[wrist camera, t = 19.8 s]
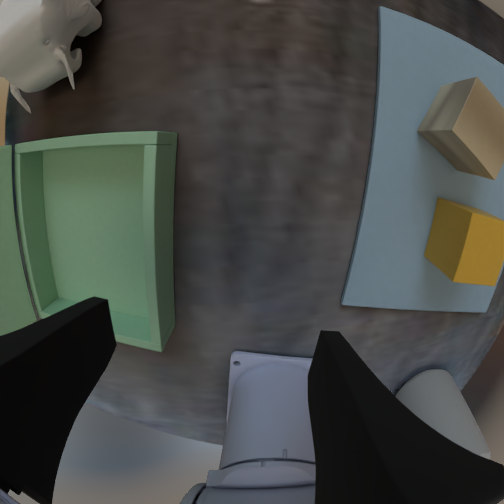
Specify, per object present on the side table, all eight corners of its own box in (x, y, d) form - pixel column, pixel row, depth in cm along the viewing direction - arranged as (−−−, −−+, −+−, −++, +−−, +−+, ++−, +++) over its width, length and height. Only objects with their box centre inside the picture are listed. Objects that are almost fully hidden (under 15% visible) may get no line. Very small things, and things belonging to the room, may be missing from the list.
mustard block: (464, 262, 16) (495, 287, 13) (423, 256, 16) (452, 282, 13) (478, 208, 15) (514, 225, 11) (437, 197, 15) (472, 212, 11)
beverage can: (457, 360, 20) (510, 455, 9) (431, 405, 22) (465, 493, 11) (404, 366, 20) (450, 482, 9) (380, 412, 23) (406, 514, 12)
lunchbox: (178, 133, 16) (157, 131, 13) (175, 325, 20) (162, 352, 17) (43, 141, 16) (14, 144, 13) (59, 298, 21) (38, 317, 18)
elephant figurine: (31, 125, 16) (-57, 136, 7) (36, 9, 11) (-32, -10, 3) (129, 81, 14) (31, 52, 6) (128, -42, 10) (69, -94, 2)
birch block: (457, 171, 14) (495, 181, 11) (416, 131, 14) (451, 130, 10) (479, 126, 13) (518, 127, 9) (440, 85, 12) (477, 76, 9)
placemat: (482, 309, 18) (485, 312, 18) (340, 301, 19) (341, 305, 18) (523, 82, 11) (527, 82, 10) (377, 8, 11) (380, 5, 11)
